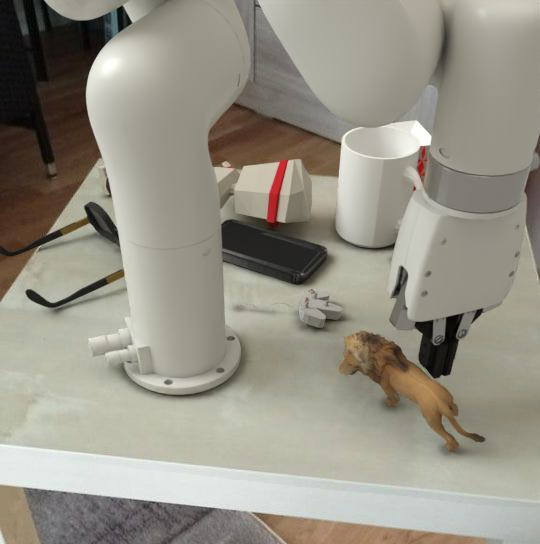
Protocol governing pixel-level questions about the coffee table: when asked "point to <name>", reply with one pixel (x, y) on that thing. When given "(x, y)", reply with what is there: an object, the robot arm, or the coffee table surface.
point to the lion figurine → (402, 381)
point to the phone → (270, 251)
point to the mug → (375, 184)
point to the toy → (261, 190)
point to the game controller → (316, 307)
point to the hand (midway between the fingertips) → (434, 368)
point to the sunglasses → (94, 217)
